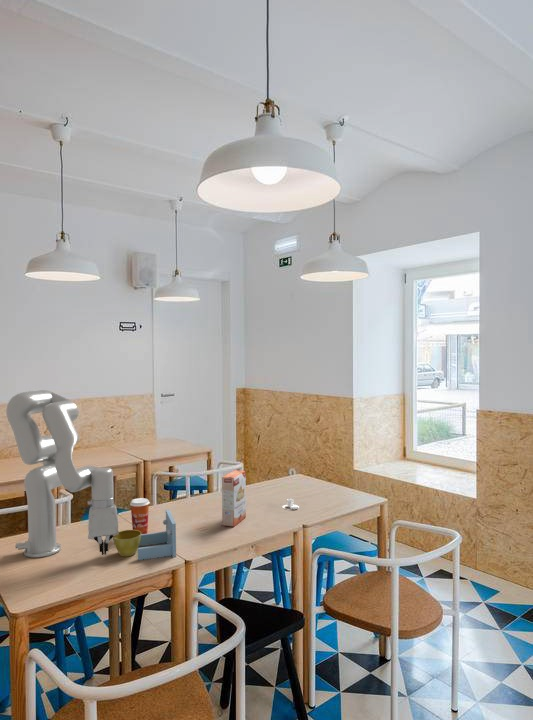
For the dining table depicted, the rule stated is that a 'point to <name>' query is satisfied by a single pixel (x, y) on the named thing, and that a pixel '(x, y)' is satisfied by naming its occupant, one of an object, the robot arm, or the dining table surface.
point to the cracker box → (233, 498)
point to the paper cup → (140, 514)
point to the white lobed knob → (290, 505)
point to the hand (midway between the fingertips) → (103, 553)
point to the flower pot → (127, 542)
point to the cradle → (159, 541)
